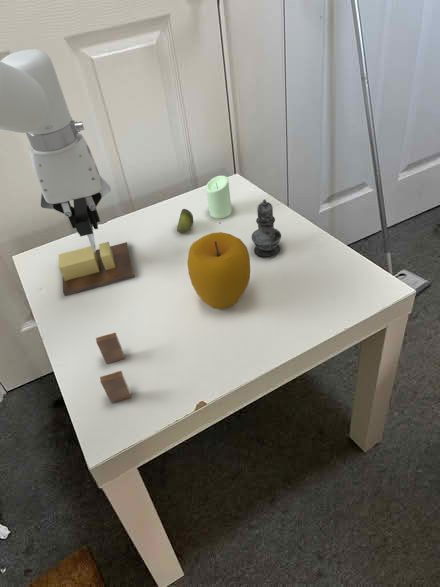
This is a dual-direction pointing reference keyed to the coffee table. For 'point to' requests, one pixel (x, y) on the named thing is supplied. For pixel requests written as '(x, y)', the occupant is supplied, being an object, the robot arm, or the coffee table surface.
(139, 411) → the coffee table surface
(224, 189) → the candle
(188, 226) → the lime
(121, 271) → the butter board
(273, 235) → the black chess piece
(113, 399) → the brown block
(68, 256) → the butter block
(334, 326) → the coffee table surface
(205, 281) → the apple
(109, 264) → the butter slice
